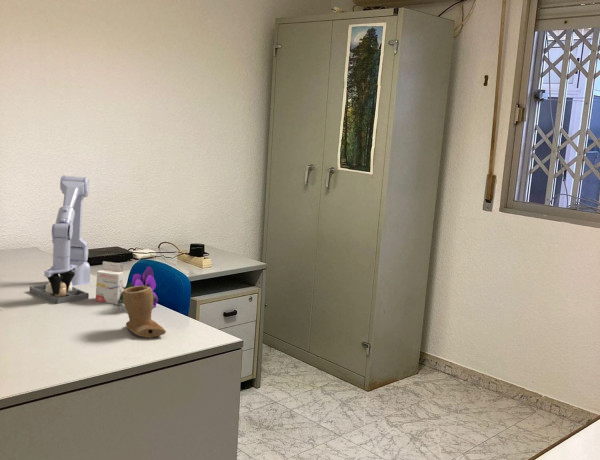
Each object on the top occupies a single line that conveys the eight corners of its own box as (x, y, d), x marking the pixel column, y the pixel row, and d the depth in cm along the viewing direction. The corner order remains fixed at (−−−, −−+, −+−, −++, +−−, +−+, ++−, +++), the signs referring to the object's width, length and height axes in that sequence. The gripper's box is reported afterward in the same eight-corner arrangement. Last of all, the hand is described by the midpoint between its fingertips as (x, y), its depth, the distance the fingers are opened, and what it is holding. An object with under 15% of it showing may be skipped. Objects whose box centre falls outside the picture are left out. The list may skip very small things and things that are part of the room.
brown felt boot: (116, 326, 216) (118, 282, 213) (151, 323, 222) (153, 280, 220) (129, 341, 203) (131, 295, 201) (166, 338, 209) (169, 292, 207)
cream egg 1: (53, 294, 243) (53, 280, 242) (59, 296, 241) (59, 282, 240) (43, 295, 240) (43, 281, 239) (49, 298, 238) (49, 283, 237)
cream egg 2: (68, 292, 248) (68, 278, 247) (74, 294, 246) (74, 280, 245) (58, 293, 245) (59, 279, 244) (64, 296, 242) (64, 281, 242)
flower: (115, 323, 235) (145, 312, 230) (100, 284, 235) (130, 272, 230) (138, 313, 248) (167, 302, 243) (124, 276, 248) (152, 265, 244)
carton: (61, 288, 254) (61, 282, 253) (88, 299, 242) (88, 293, 242) (29, 293, 244) (29, 286, 244) (56, 305, 232) (56, 298, 232)
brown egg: (59, 294, 239) (60, 279, 238) (68, 296, 238) (68, 281, 237) (51, 296, 235) (52, 281, 235) (60, 298, 234) (61, 283, 233)
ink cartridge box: (94, 302, 240) (96, 263, 237) (100, 299, 245) (102, 260, 242) (117, 305, 239) (118, 266, 236) (122, 301, 244) (124, 263, 241)
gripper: (66, 251, 242) (65, 286, 244) (37, 257, 229) (36, 294, 231) (82, 254, 240) (80, 289, 242) (53, 260, 226) (52, 298, 229)
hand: (60, 292), depth 236 cm, fingers closed on brown egg, 4 cm apart
